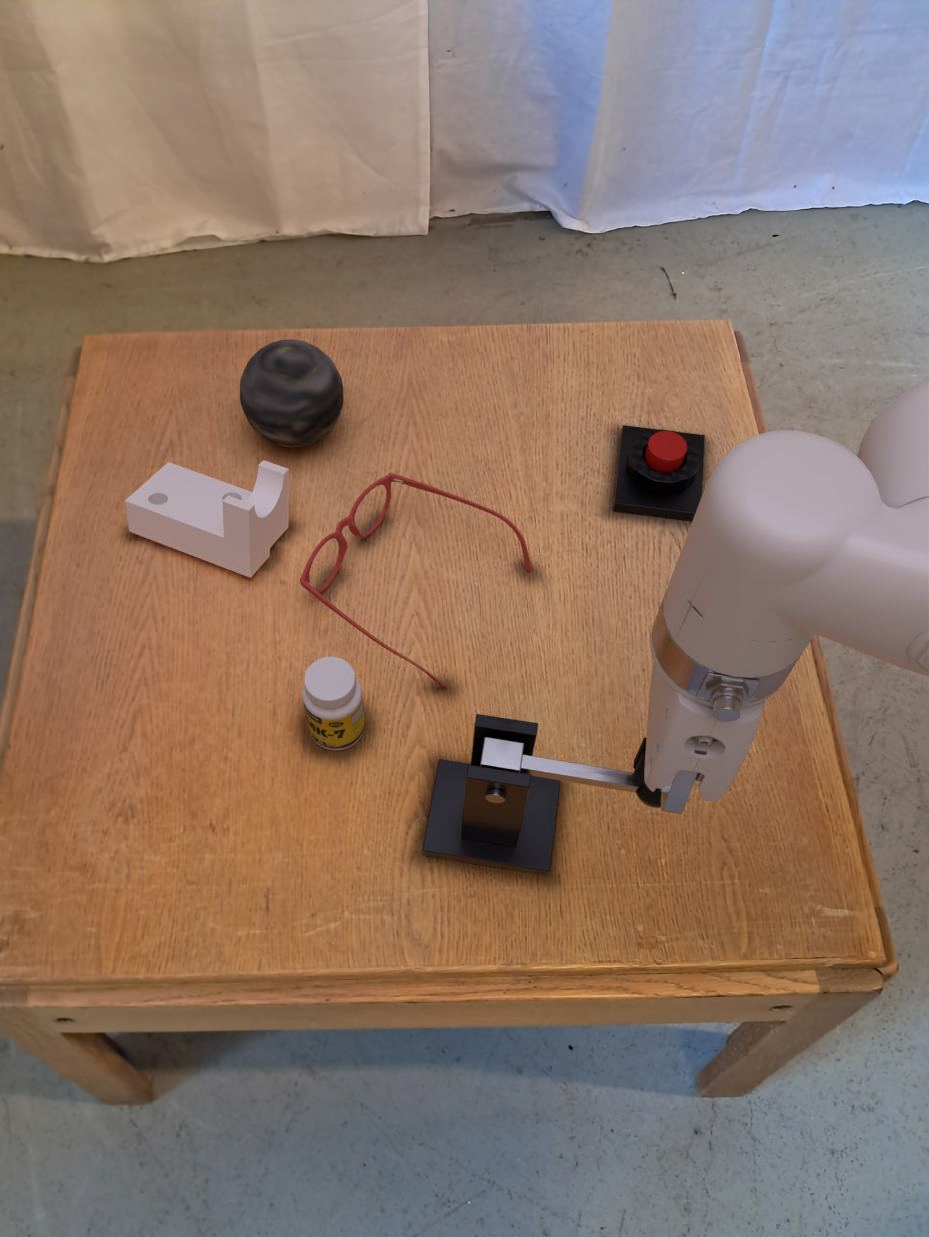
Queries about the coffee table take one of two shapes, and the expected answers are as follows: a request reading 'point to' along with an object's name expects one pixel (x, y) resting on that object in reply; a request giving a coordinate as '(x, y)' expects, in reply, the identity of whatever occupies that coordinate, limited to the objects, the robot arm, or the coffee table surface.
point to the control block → (658, 478)
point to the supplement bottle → (333, 703)
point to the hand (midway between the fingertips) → (655, 776)
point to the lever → (561, 769)
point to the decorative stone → (291, 393)
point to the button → (665, 451)
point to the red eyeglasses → (354, 530)
